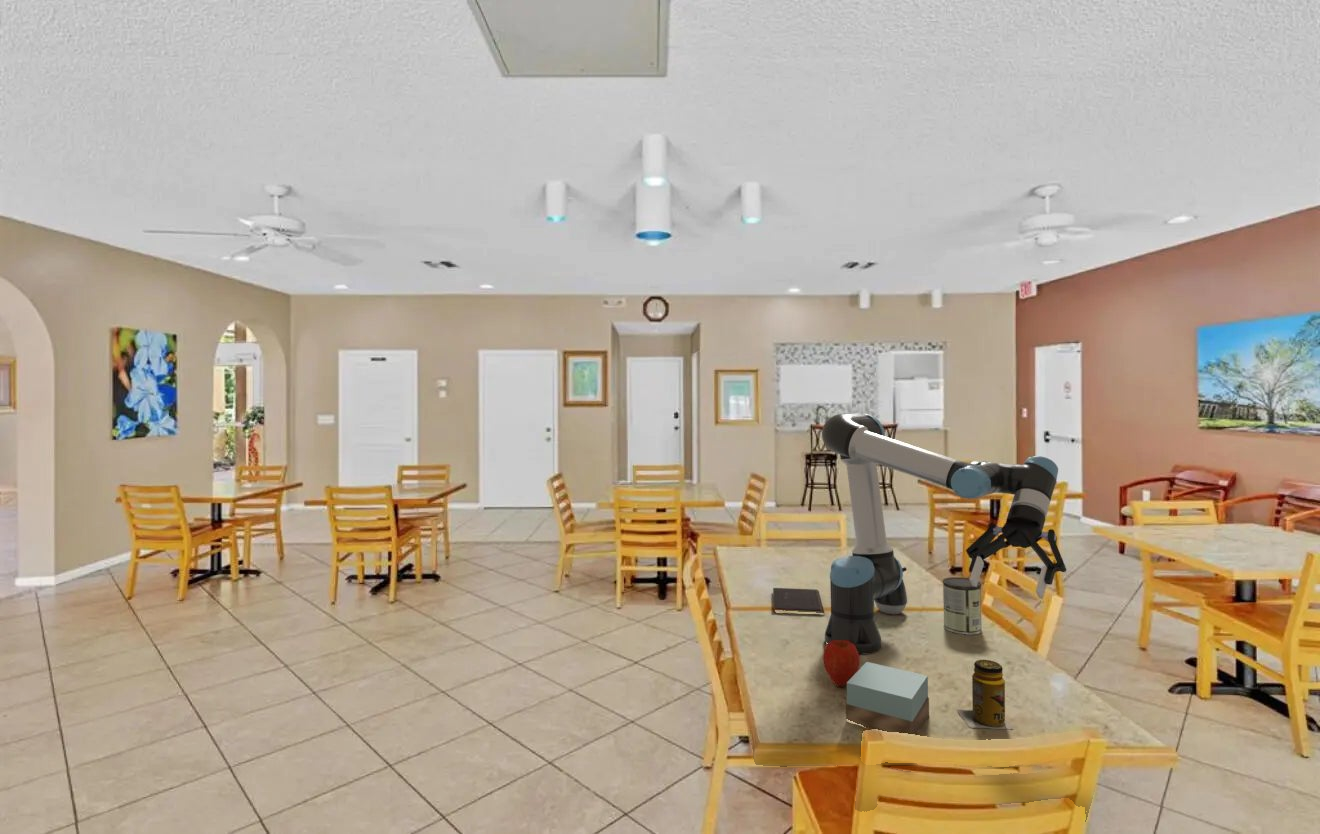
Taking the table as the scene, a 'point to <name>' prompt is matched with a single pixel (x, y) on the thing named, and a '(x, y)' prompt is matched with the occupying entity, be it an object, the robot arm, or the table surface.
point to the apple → (841, 661)
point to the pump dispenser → (893, 600)
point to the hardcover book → (797, 600)
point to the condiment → (987, 697)
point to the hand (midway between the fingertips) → (1004, 589)
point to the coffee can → (962, 606)
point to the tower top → (888, 691)
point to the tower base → (887, 719)
